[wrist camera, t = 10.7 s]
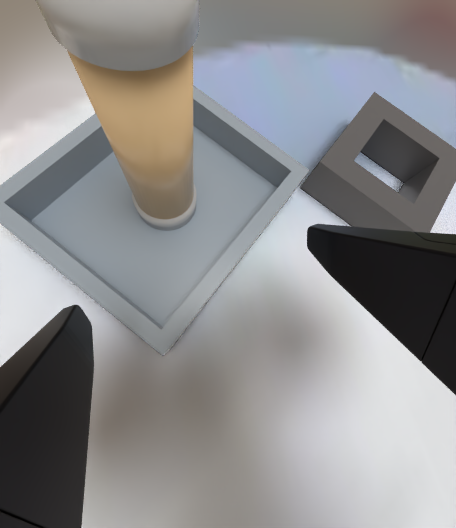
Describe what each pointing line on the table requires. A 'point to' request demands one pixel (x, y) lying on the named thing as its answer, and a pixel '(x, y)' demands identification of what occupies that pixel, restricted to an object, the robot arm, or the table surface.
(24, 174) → the parts tray
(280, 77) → the table surface
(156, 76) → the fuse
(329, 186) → the frame
